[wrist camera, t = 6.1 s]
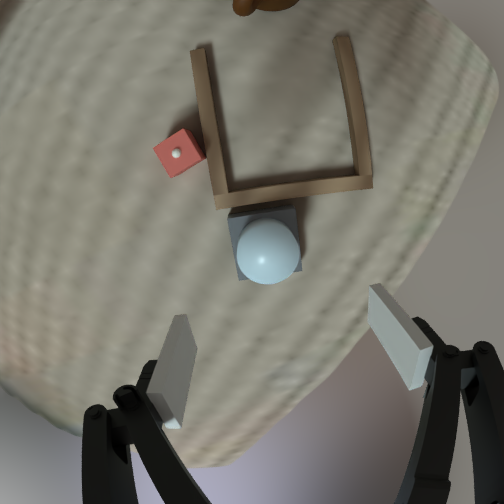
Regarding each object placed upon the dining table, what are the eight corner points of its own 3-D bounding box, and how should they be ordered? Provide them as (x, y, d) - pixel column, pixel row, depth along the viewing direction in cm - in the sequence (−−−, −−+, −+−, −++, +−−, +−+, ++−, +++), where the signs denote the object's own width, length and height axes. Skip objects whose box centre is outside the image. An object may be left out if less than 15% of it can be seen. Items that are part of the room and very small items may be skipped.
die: (178, 174, 29) (169, 178, 26) (162, 148, 28) (151, 148, 25) (206, 158, 29) (200, 159, 25) (190, 130, 28) (182, 127, 24)
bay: (217, 207, 31) (216, 209, 29) (192, 55, 25) (189, 50, 23) (367, 186, 30) (373, 188, 29) (344, 41, 24) (348, 36, 23)
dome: (242, 275, 31) (242, 288, 29) (232, 222, 29) (231, 230, 27) (297, 267, 31) (302, 279, 28) (291, 213, 29) (296, 220, 26)
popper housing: (239, 273, 33) (239, 280, 32) (228, 214, 31) (227, 218, 29) (299, 263, 33) (302, 270, 31) (292, 204, 31) (295, 208, 29)
